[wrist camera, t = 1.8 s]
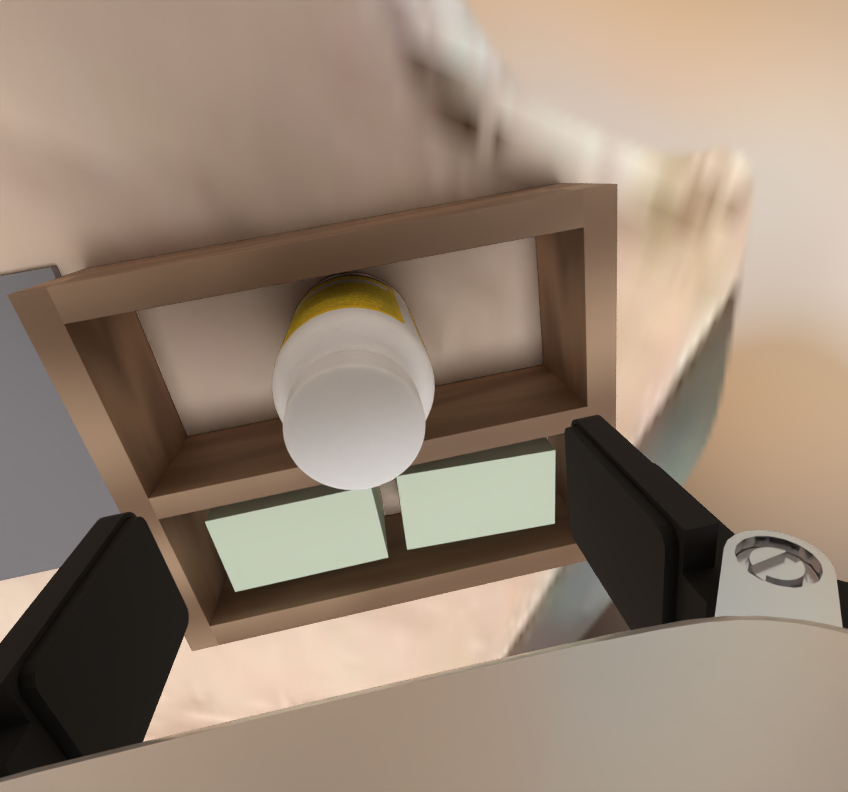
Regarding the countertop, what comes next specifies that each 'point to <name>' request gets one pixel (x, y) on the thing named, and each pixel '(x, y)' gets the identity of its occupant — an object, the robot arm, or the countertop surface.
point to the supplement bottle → (353, 383)
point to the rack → (263, 442)
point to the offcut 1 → (298, 534)
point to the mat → (39, 454)
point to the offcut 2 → (478, 494)
